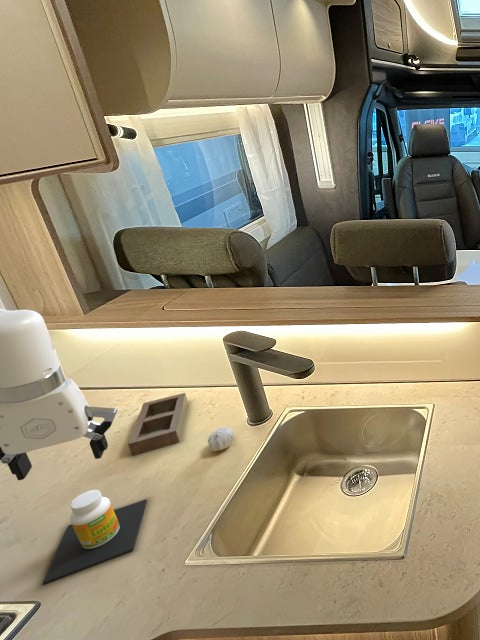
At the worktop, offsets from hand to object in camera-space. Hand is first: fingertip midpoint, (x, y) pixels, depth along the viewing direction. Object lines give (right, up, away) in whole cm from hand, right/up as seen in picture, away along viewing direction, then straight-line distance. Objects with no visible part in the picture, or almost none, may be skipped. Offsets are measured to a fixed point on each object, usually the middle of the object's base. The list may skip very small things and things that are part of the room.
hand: (64, 463), depth 73 cm
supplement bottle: (+1, -17, +6) cm, 18 cm away
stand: (-11, -8, +34) cm, 36 cm away
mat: (0, -18, +6) cm, 19 cm away
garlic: (+9, -10, +28) cm, 31 cm away
